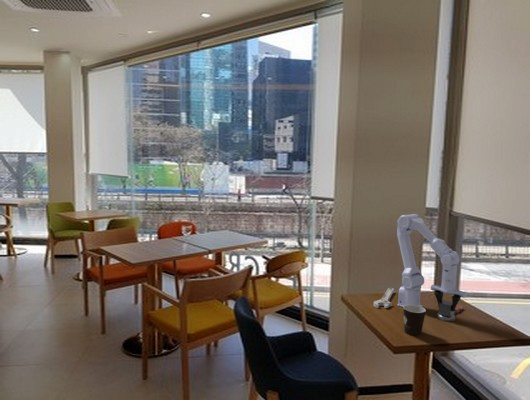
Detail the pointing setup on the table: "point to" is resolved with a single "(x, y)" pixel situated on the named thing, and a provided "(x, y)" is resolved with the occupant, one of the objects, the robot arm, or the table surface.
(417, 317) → the coffee mug
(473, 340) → the table surface
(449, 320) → the ratchet
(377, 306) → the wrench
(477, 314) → the table surface
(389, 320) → the table surface
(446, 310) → the socket
